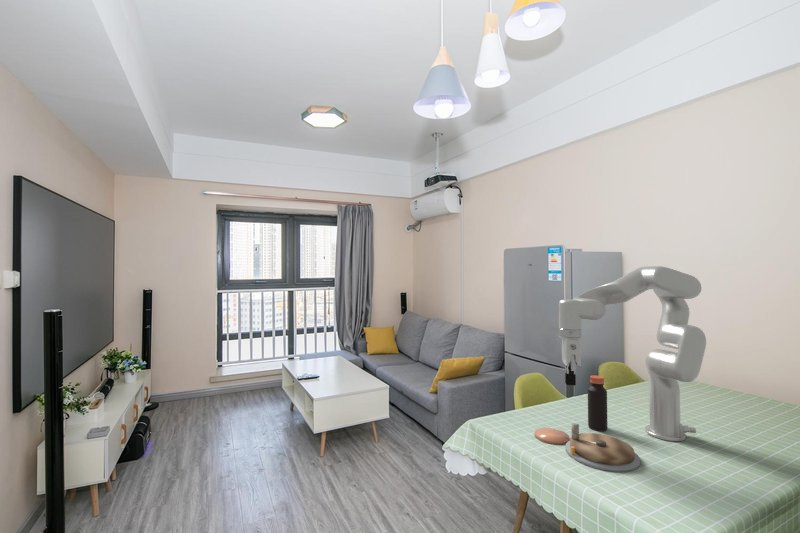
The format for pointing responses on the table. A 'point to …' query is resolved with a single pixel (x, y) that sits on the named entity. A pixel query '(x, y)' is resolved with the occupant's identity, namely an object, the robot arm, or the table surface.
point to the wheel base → (606, 467)
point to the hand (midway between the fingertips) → (570, 384)
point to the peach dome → (551, 436)
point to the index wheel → (601, 447)
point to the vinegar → (597, 404)
